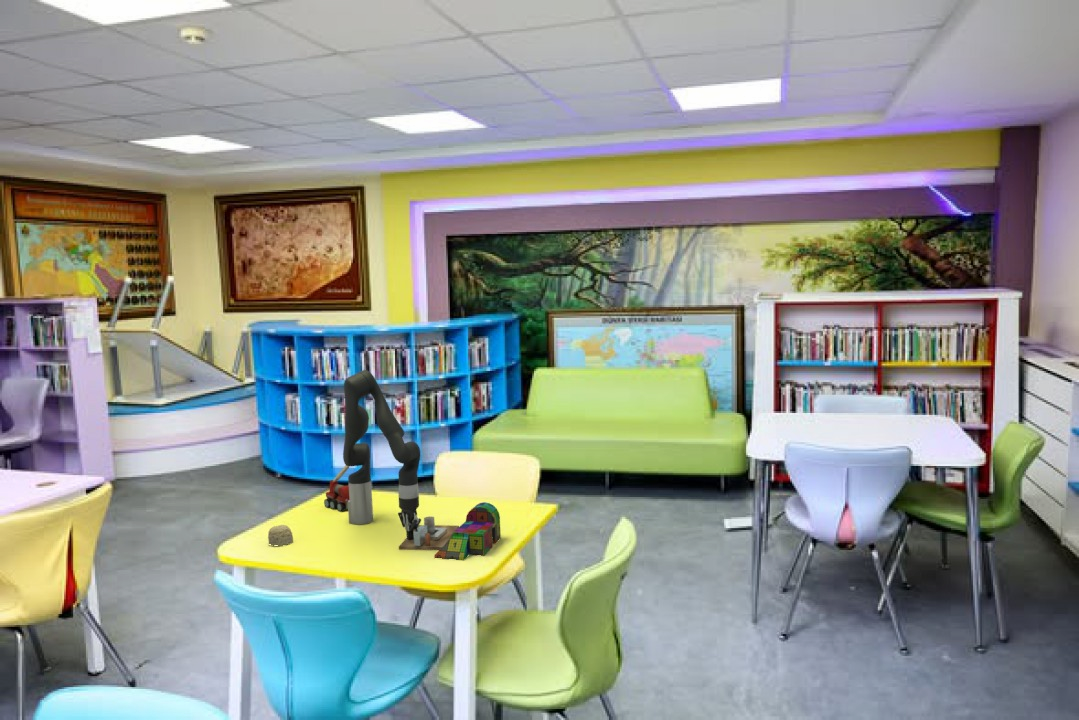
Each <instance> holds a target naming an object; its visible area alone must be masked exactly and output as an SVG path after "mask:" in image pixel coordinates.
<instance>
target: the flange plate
mask: <svg viewBox="0 0 1079 720" xmlns="http://www.w3.org/2000/svg"><path fill="white" fill-rule="evenodd" d="M420 525H421V526H420V527H418V528H417V529H416V530H415V531H413V532H414V546H421V545H422V544H423V543H424V542H425V534H426V533H427V525H424V524H420ZM446 532H447V528H435V534H434V535H432V534H430V540H438V539H439V538H440V537H441V536H443V535H444V534H445V533H446Z"/></svg>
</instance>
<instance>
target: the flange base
mask: <svg viewBox="0 0 1079 720" xmlns="http://www.w3.org/2000/svg"><path fill="white" fill-rule="evenodd" d="M435 523H436V521H435V517H434V516H425V517H423V525H427V533H426V534H425V542H424V543H423V544H422V545H421V546H414V539H413V540H408V539H407V537H406V538H405V539H404V540H403V541H402V543H400V544H399V545H398V550H400V551H402V550H404V551H405V550H407V551H439V550H440V549H441V548H442V547H443V546H444V545H445V544H446V543H447V542H448V541H449V540H450V539H451V538H452V537H453V532H454V531H455V530H456V529H457V528H459V527H460V525H449V524H448V525H445V524H444V525H443V524H441V525H439V524H438V525H436V524H435ZM421 525H422V524H419V526H418V527H420V526H421ZM435 528H447V532H446V533H445V534H444V535H443V536H441V537H440V538H439V539H438V540H430V534H432V535H434V534H435ZM415 530H416V529H415ZM415 530H414V531H415ZM413 533H414V532H413Z"/></svg>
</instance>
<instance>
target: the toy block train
mask: <svg viewBox="0 0 1079 720" xmlns="http://www.w3.org/2000/svg"><path fill="white" fill-rule="evenodd" d="M501 536H502V534H501V516H500V512H499V510H498V508H497V506H495V505H494V504H493V503H492V504H491V503H490V502H485V501H483V502H479V503H478V504H476V505H475V506H474V507H473V508H471V509H470V510H469V511H468V512H467V514H466V518H465V521H464V522H462V524H461V525H459V528H457V529H456V530H455V531H454V532H453V537H452V538H451V539H450V540H449V541H448V542H447V543H446V544H445V545H444V546H443V547H442V548H441V549H440V550H437V552H436V553H435V554H434V556H433V557H434V559H435V558H442V559H441V560H449V559H456V560H455V561H465V560H466V559H467V558H466V557H467V556H468V555H469V556H477V555H481V556H482V557H485V556H486V554H488V552H490V550H491V549H492V548H493V547H494V546H493V545H496V544H497V542H499V541H498V540H499V539H501V538H502V537H501ZM492 537H493V538H492ZM469 556H468V557H469ZM481 556H480V557H481ZM465 558H466V559H465ZM464 559H465V560H464Z"/></svg>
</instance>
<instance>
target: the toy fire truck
mask: <svg viewBox="0 0 1079 720" xmlns="http://www.w3.org/2000/svg"><path fill="white" fill-rule="evenodd" d="M349 469H350V466H347V465H345V466H344V467H343V468H342V469H341V470H340V471H339V473H337V475H336V476H335V478H334V479H332V480H330V481H329V489H328V490H329V491H327V492H325V497H326V498H325V499H324V500H323V501H324V502H323V504H324V506H325V508H327V509H329V508H330V509H331V510H336V509H337V511H338V512H339V513H341V512H344V511H345V510H348V501H349V500H350V499H349V484H348V485H343V484H340V483H339V482H338V481H339V480H340V479H341V477H343V475H344V474H345V473H346V472H347V471H348V470H349Z"/></svg>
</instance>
